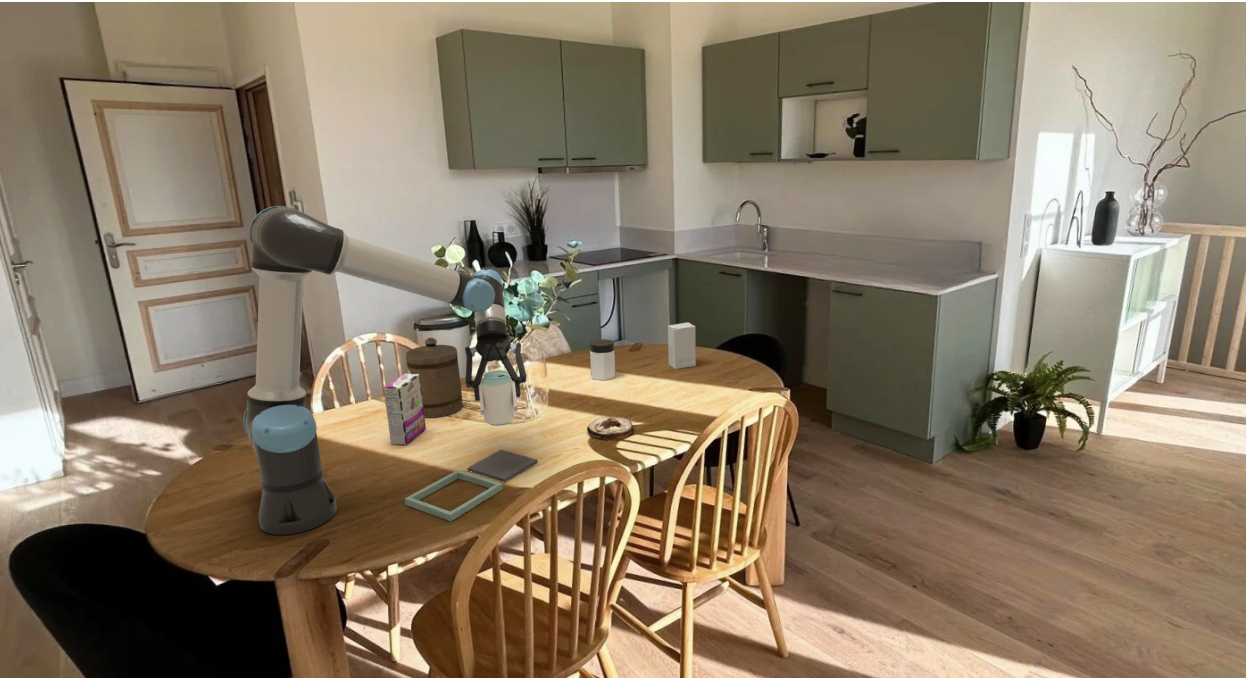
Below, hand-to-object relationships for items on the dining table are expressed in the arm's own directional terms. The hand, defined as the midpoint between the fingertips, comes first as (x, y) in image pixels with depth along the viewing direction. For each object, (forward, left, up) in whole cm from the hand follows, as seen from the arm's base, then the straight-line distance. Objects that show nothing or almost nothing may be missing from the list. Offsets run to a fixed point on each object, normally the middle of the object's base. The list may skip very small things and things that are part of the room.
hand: (499, 410), depth 161 cm
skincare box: (+94, +1, -16) cm, 96 cm away
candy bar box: (+3, +37, -16) cm, 41 cm away
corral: (-15, +1, -16) cm, 22 cm away
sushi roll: (+33, -9, -17) cm, 38 cm away
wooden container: (+22, +46, -16) cm, 54 cm away
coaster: (+2, +2, -16) cm, 16 cm away
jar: (+71, +19, -16) cm, 76 cm away
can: (+2, +2, -4) cm, 6 cm away
